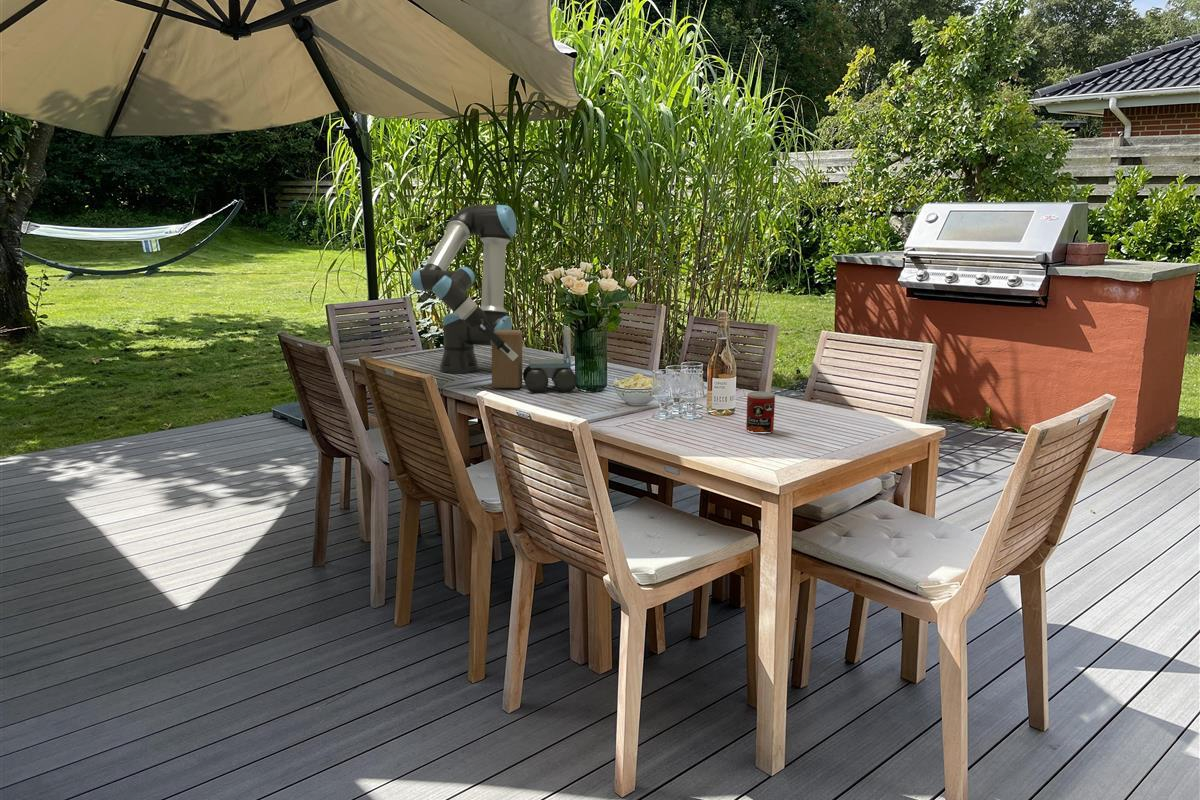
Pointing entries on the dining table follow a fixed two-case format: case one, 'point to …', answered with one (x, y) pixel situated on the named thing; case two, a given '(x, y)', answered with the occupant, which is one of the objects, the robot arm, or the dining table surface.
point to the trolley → (552, 370)
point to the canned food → (760, 411)
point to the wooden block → (507, 361)
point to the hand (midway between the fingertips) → (515, 356)
